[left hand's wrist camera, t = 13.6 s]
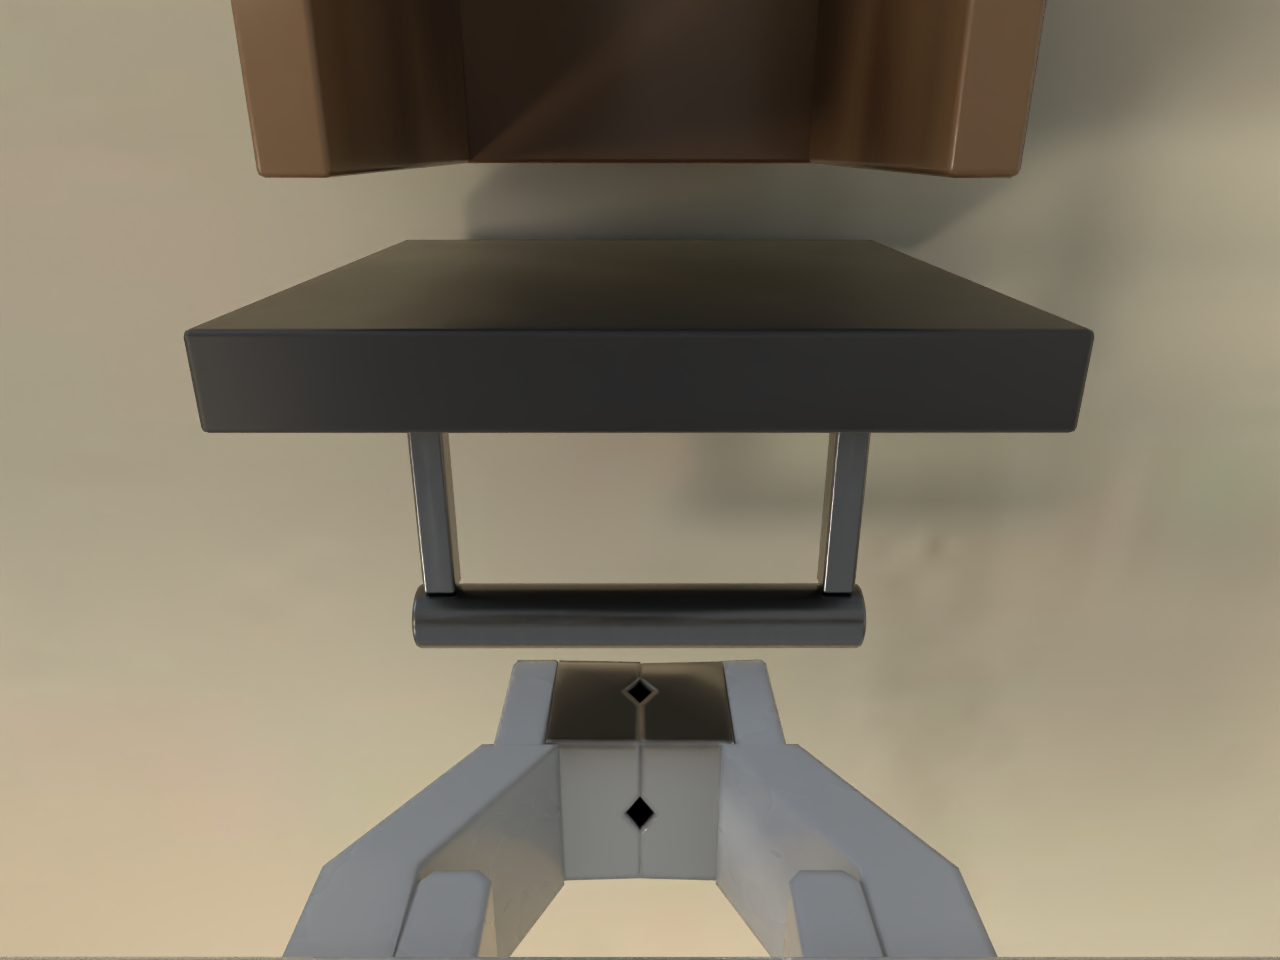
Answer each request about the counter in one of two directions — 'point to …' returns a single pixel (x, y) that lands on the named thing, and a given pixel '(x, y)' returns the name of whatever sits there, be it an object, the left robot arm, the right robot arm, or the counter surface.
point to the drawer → (638, 268)
